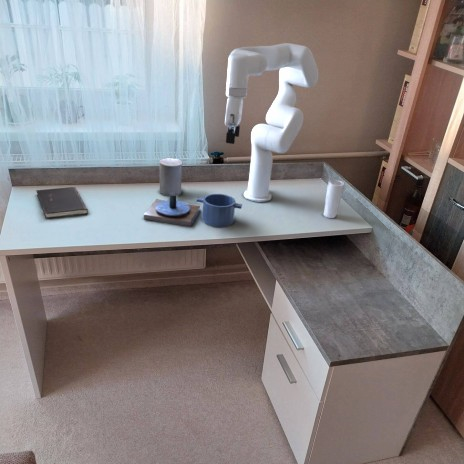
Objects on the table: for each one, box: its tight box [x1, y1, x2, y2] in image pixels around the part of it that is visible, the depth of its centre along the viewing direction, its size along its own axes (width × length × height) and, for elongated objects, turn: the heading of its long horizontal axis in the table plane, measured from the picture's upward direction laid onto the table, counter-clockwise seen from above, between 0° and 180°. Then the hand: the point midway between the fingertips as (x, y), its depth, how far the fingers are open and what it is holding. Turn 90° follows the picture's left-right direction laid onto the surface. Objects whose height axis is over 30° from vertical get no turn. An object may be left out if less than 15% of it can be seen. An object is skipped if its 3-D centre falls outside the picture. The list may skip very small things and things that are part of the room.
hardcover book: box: [35, 186, 89, 220], centre depth 195 cm, size 16×23×2 cm
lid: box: [156, 193, 190, 216], centre depth 193 cm, size 14×14×7 cm
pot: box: [195, 193, 243, 228], centre depth 194 cm, size 13×18×8 cm
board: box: [143, 198, 201, 227], centre depth 196 cm, size 16×19×2 cm
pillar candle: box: [159, 157, 183, 197], centre depth 210 cm, size 10×10×15 cm
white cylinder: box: [323, 179, 345, 219], centre depth 204 cm, size 7×7×15 cm
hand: (232, 139), depth 185 cm, fingers open, 9 cm apart
